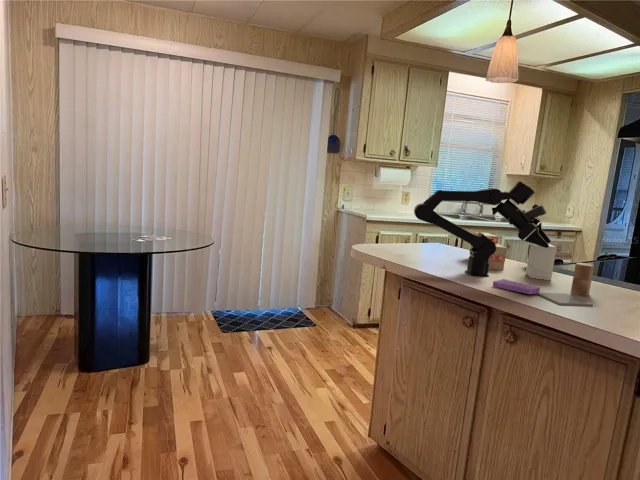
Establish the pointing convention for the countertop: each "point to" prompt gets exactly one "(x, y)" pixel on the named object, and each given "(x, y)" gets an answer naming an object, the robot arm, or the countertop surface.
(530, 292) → the sponges
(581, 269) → the walnut block
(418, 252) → the countertop surface
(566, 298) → the coaster
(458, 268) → the countertop surface
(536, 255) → the supplement box
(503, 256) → the tan cardboard box
